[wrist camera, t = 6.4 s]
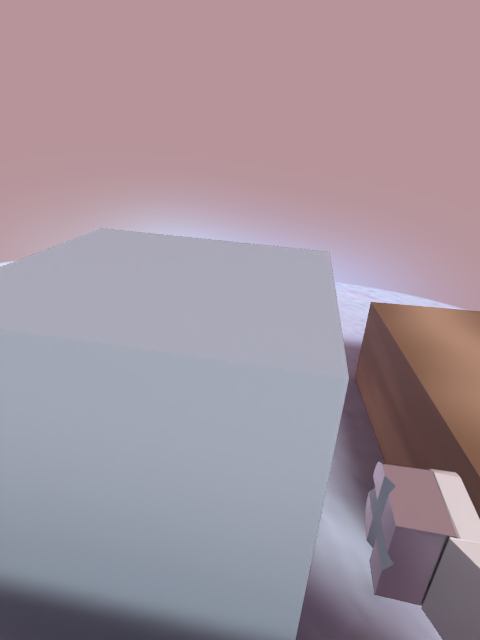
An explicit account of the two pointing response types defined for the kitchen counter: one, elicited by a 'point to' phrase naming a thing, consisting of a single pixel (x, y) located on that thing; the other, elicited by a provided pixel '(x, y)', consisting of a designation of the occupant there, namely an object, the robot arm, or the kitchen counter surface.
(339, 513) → the kitchen counter surface
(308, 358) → the slate pillar block
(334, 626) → the kitchen counter surface
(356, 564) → the kitchen counter surface
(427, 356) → the walnut block
